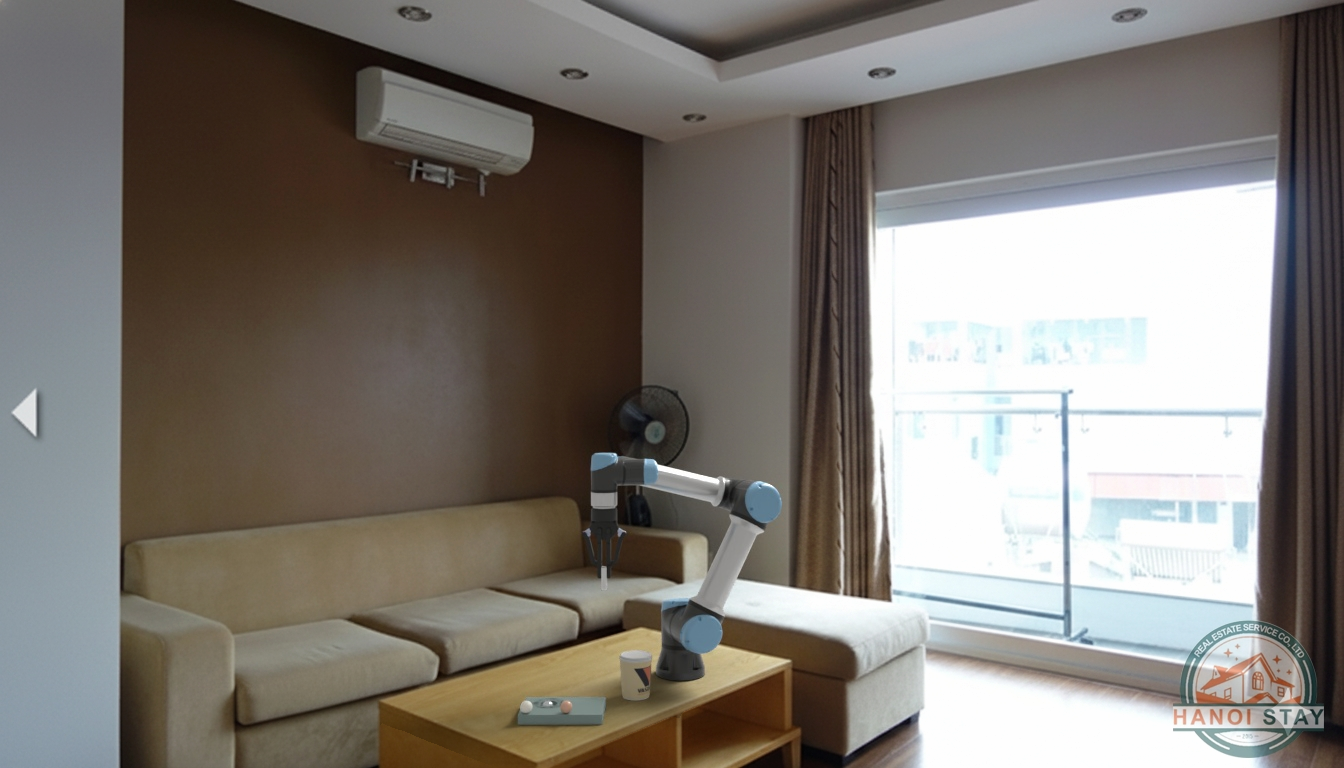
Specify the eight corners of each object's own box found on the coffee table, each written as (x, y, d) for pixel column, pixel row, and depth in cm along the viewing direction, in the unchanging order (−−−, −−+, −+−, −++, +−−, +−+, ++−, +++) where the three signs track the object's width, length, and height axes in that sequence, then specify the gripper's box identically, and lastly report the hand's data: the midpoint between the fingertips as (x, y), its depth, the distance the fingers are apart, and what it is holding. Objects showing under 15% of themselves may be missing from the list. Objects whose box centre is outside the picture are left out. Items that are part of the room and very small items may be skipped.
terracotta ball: (573, 710, 252) (573, 698, 252) (571, 714, 249) (571, 702, 249) (560, 711, 252) (560, 698, 252) (559, 715, 249) (559, 702, 249)
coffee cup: (640, 703, 266) (640, 660, 266) (613, 698, 271) (612, 655, 271) (658, 694, 274) (658, 652, 274) (631, 689, 279) (631, 648, 279)
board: (605, 705, 264) (605, 696, 264) (602, 724, 249) (602, 714, 249) (526, 706, 264) (526, 697, 264) (517, 724, 249) (517, 715, 249)
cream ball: (533, 711, 252) (533, 698, 252) (531, 715, 249) (531, 702, 249) (521, 711, 252) (521, 698, 252) (519, 715, 249) (519, 702, 249)
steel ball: (556, 706, 260) (549, 696, 260) (555, 710, 257) (548, 700, 257) (547, 713, 260) (540, 703, 260) (545, 717, 257) (538, 707, 257)
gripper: (627, 505, 277) (627, 586, 277) (582, 505, 277) (582, 587, 277) (626, 508, 270) (626, 592, 269) (580, 508, 270) (580, 592, 269)
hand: (604, 589), depth 273 cm, fingers closed
